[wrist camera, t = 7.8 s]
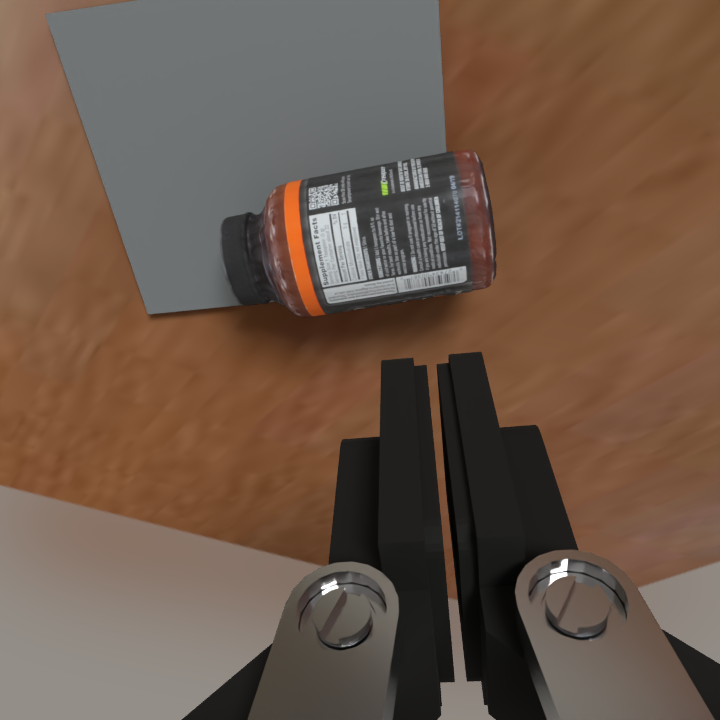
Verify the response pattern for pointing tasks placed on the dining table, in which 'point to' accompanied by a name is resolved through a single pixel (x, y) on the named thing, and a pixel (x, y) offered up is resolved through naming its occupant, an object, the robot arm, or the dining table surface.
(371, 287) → the supplement bottle
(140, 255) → the mat
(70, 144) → the dining table surface
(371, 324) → the dining table surface
